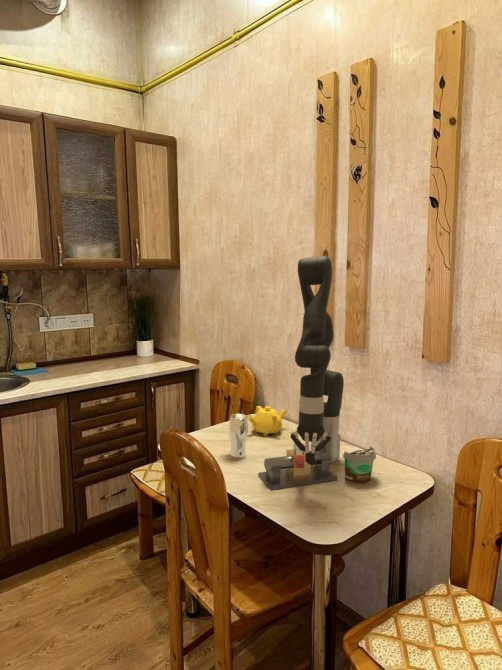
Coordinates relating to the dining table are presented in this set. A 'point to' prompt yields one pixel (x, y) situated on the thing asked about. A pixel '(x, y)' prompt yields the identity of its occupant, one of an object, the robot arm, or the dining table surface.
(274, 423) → the teapot
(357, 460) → the food container
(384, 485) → the dining table surface
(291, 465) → the valve pipe
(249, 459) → the dining table surface
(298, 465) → the valve lever
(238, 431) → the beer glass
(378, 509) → the dining table surface
